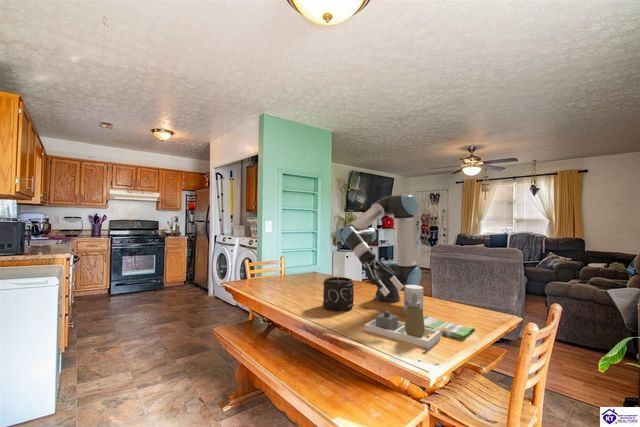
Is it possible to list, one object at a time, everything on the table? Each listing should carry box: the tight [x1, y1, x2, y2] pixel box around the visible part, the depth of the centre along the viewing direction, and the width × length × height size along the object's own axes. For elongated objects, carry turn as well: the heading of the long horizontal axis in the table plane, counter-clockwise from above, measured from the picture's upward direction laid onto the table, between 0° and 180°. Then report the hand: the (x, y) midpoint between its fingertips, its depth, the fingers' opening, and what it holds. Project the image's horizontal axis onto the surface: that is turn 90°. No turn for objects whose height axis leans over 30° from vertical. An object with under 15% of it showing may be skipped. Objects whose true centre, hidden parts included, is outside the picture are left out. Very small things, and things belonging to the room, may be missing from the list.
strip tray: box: [363, 318, 441, 351], centre depth 127 cm, size 14×28×4 cm, turn 50°
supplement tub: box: [403, 284, 424, 315], centre depth 157 cm, size 10×10×15 cm
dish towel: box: [423, 314, 476, 342], centre depth 137 cm, size 17×23×4 cm
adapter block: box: [375, 310, 399, 331], centre depth 132 cm, size 7×7×8 cm
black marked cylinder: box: [322, 276, 355, 313], centre depth 169 cm, size 18×18×16 cm
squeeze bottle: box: [404, 293, 425, 338], centre depth 124 cm, size 8×8×18 cm
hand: (394, 291), depth 130 cm, fingers open, 13 cm apart
